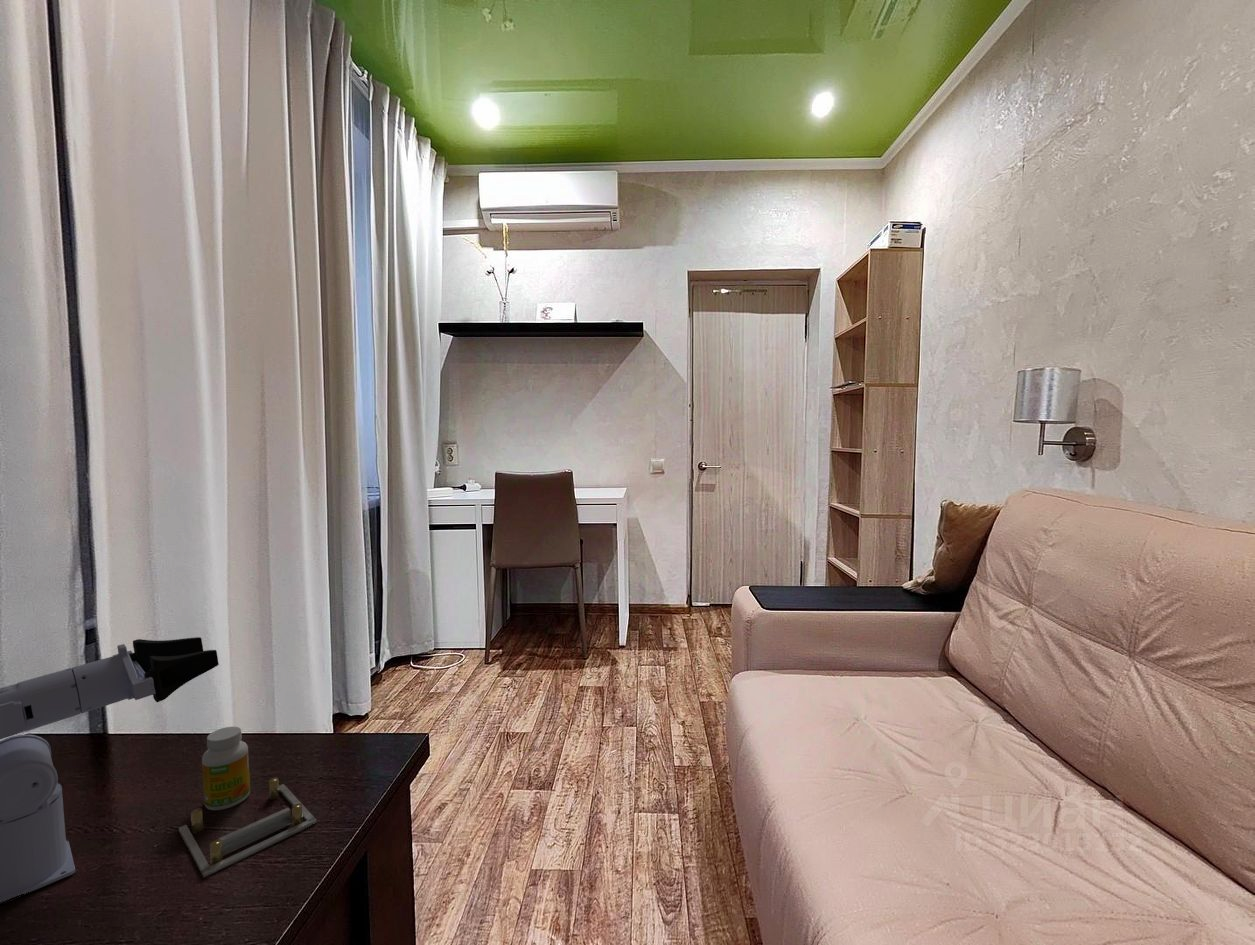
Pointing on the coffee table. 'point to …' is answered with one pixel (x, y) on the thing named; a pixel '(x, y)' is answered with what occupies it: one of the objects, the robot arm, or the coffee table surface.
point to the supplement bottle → (225, 769)
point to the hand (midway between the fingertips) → (209, 650)
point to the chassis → (248, 832)
